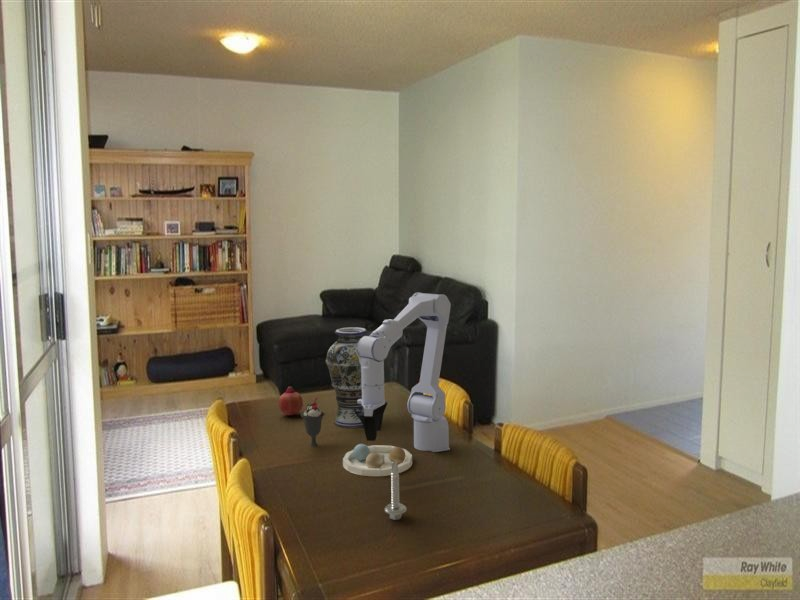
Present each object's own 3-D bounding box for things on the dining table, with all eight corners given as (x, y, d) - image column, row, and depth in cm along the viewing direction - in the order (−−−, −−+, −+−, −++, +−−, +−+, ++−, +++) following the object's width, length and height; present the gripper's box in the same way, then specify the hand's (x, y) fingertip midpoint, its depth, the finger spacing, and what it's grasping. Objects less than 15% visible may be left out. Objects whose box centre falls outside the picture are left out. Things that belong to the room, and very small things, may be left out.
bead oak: (391, 458, 178) (394, 442, 177) (406, 463, 176) (409, 447, 175) (384, 463, 174) (387, 447, 173) (400, 468, 172) (402, 452, 171)
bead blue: (366, 456, 180) (366, 440, 180) (372, 461, 176) (371, 445, 176) (351, 458, 179) (350, 442, 178) (356, 464, 175) (356, 448, 174)
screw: (410, 519, 144) (389, 524, 143) (401, 510, 149) (381, 515, 147) (409, 462, 143) (388, 466, 141) (400, 455, 147) (380, 458, 145)
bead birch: (379, 465, 174) (379, 449, 173) (385, 470, 170) (385, 454, 169) (363, 467, 172) (363, 451, 172) (369, 473, 168) (368, 456, 168)
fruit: (274, 418, 218) (273, 388, 216) (285, 411, 225) (284, 382, 224) (296, 420, 215) (295, 390, 214) (307, 413, 223) (306, 384, 222)
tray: (396, 449, 188) (396, 440, 187) (423, 472, 171) (423, 462, 171) (334, 459, 181) (334, 449, 181) (355, 483, 164) (355, 473, 164)
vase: (390, 418, 216) (389, 327, 212) (359, 433, 201) (357, 336, 197) (349, 411, 225) (347, 323, 221) (316, 425, 210) (313, 331, 206)
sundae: (321, 452, 186) (320, 400, 184) (298, 451, 187) (297, 399, 185) (328, 444, 192) (327, 394, 190) (306, 443, 194) (305, 393, 192)
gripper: (362, 376, 176) (363, 425, 178) (351, 390, 162) (352, 444, 163) (389, 376, 175) (389, 426, 177) (380, 391, 161) (381, 445, 162)
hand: (373, 435), depth 170 cm, fingers open, 7 cm apart
